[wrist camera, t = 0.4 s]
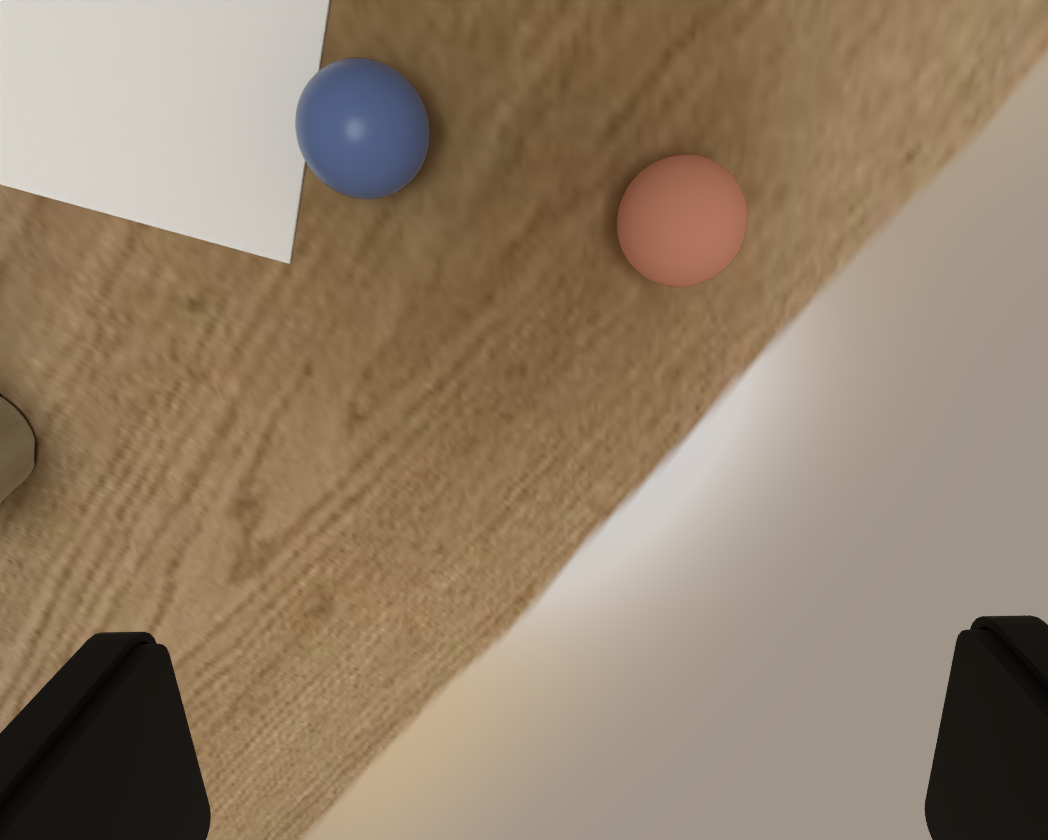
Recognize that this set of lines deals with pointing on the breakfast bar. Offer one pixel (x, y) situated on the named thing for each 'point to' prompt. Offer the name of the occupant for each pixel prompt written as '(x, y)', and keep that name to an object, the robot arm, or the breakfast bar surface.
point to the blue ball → (362, 128)
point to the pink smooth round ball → (682, 220)
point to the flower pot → (14, 449)
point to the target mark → (162, 111)
